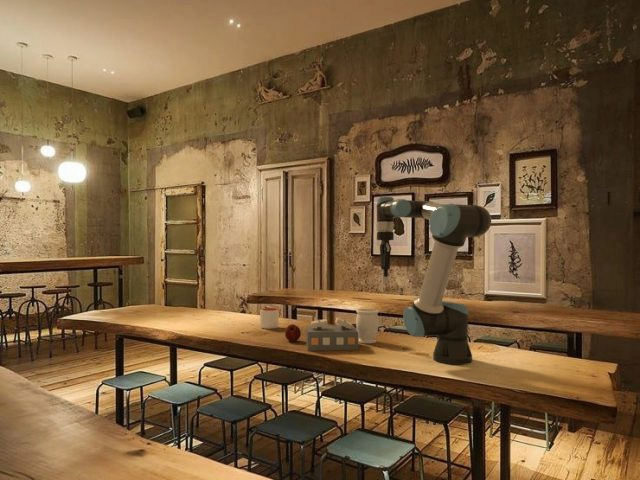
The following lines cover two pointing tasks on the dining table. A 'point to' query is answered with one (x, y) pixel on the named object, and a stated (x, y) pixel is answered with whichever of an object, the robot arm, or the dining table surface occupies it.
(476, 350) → the dining table surface
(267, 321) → the cup
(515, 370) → the dining table surface
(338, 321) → the switch
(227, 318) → the dining table surface
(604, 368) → the dining table surface
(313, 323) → the switch
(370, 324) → the jar
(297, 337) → the apple
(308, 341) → the console
